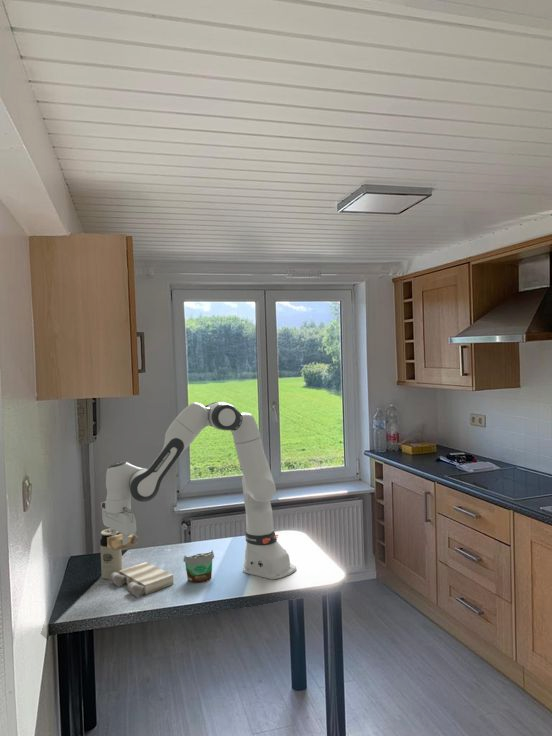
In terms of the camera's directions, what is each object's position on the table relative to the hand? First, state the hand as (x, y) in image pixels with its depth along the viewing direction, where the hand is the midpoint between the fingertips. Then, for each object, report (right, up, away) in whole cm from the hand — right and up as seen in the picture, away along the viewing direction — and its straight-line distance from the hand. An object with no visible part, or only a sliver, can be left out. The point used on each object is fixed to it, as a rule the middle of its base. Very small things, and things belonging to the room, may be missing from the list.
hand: (119, 541), depth 192 cm
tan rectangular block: (+1, -2, +1) cm, 2 cm away
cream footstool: (+7, -18, +5) cm, 20 cm away
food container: (+30, -17, +6) cm, 35 cm away
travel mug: (-7, -18, +14) cm, 24 cm away
